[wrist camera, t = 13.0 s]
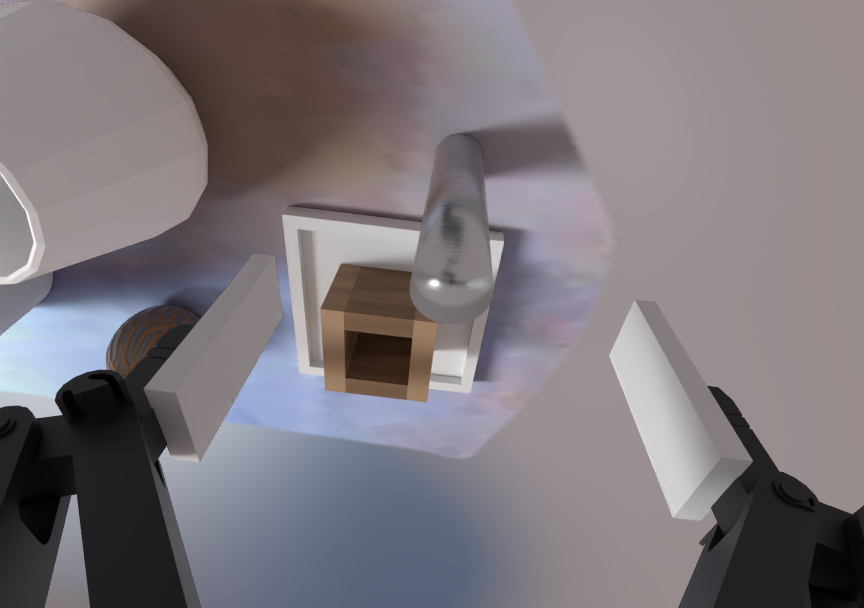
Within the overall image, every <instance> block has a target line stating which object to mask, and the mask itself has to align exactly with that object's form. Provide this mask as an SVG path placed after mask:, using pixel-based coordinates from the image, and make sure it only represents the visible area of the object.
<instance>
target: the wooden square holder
mask: <svg viewBox="0 0 864 608" xmlns="http://www.w3.org/2000/svg"><path fill="white" fill-rule="evenodd" d="M411 276H412V272H407V271H399V270H390V269H382V268H374V267H365V266H357V265H349V264H340V266H339V269H338V271H337V273H336V275H335V277H334V280H333V282H332V284H331V286H330V288H329V291H328V293H327V295H326V297H325V299H324V302H323V304H322V306H321V308H320V315H321V331H322V346H323V362H324V378H325V390H328V391H337V392H345V393H354V394H362V395H370V396H379V397H387V398H396V399H404V400H413V401H421V402H427V397H428V389H429V382H430V375H431V368H432V361H433V353H434V346H435V339H436V332H437V325H438V322H436V321H433V320H431V319H429V318H427V317H426V316H424V315H423V314H422V313H421V312H419V311H418V309H417V308H416V307H415V305H414V304H413V302H412V300H411V296H410V281H411Z"/></svg>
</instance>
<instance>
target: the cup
mask: <svg viewBox="0 0 864 608" xmlns="http://www.w3.org/2000/svg"><path fill="white" fill-rule="evenodd" d="M207 184H208V145H207V141H206V137H205V133H204V129H203V126H202V123H201V121H200V118H199V116H198V113H197V110H196V108H195V105H194V102H193V100H192V98H191V96H190V95H189V94H188V92H187V91H186V90H185V88H184V87H183V86H182V84H181V83H180V82H179V80H178V79H177V78H176V76H175V75H174V74H173V73H172V71H171V70H170V69H169V68H168V67H167V66H166V65H165V64H164V63H163V62H162V61H161V60H160V59H159V58H158V57H157V56H156V55H155V54H154V53H152V52H151V51H150V50H148V49H147V48H146V47H145V46H143V45H142V44H141V43H139V42H138V41H137V40H135V39H134V38H133V37H131V36H130V35H129V34H127V33H126V32H125V31H123V30H122V29H121V28H119V27H118V26H117V25H115V24H114V23H113V22H112V21H110V20H108V19H105V18H102V17H99V16H96V15H93V14H90V13H88V12H85V11H82V10H79V9H76V8H73V7H70V6H67V5H64V4H62V3H59V2H55V1H52V0H33V1H24V2H16V3H7V4H0V284H17V283H20V282H23V281H26V280H29V279H32V278H35V277H38V276H41V275H44V274H47V273H50V272H53V271H55V270H58V269H61V268H64V267H67V266H70V265H73V264H76V263H79V262H82V261H85V260H88V259H91V258H94V257H97V256H100V255H103V254H106V253H109V252H112V251H115V250H118V249H121V248H124V247H127V246H130V245H133V244H136V243H139V242H142V241H145V240H148V239H151V238H154V237H156V236H158V235H160V234H162V233H163V232H165V231H167V230H169V229H170V228H172V227H174V226H176V225H177V224H179V223H181V222H183V221H184V220H186V219H188V218H189V217H190V215H191V213H192V212H193V210H194V208H195V206H196V204H197V202H198V200H199V199H200V197H201V195H202V193H203V191H204V189H205V187H206V186H207Z"/></svg>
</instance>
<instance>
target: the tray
mask: <svg viewBox="0 0 864 608" xmlns="http://www.w3.org/2000/svg"><path fill="white" fill-rule="evenodd" d="M282 219H283V228H284V237H285V246H286V255H287V264H288V273H289V282H290V291H291V301H292V310H293V319H294V328H295V337H296V346H297V355H298V364H299V373H303V374H311V375H319V376H324V362H323V346H322V331H321V315H320V308H321V306H322V304H323V302H324V299H325V297H326V295H327V293H328V291H329V288H330V286H331V284H332V282H333V280H334V277H335V275H336V273H337V271H338V269H339V266H340V264H349V265H357V266H365V267H374V268H382V269H390V270H399V271H407V272H412V271H413V266H414V261H415V256H416V250H417V245H418V240H419V235H420V230H421V225H422V222H416V221H408V220H400V219H392V218H384V217H375V216H367V215H359V214H351V213H343V212H334V211H326V210H318V209H310V208H302V207H293V206H288V208H287V209H286V210H285V211H284V213H283V214H282ZM489 238H490V250H491V262H492V274H493V286H494V285H495V281H496V276H497V272H498V268H499V263H500V259H501V254H502V250H503V245H504V236H503V232H498V231H490V230H489ZM489 308H490V305H489V307H488V308H487V310H486V311H485V312H484V313H483V314H482V315H480V316H479V317H477V318H476V319H474V320H472V321H469V322H466V323H462V324H443V323H439V322H438V325H437V332H436V339H435V346H434V353H433V361H432V368H431V375H430V382H429V389H437V390H445V391H454V392H462V393H470V392H471V388H472V383H473V379H474V374H475V370H476V366H477V361H478V357H479V352H480V348H481V343H482V339H483V334H484V330H485V325H486V321H487V317H488V312H489Z"/></svg>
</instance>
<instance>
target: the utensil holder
mask: <svg viewBox="0 0 864 608" xmlns="http://www.w3.org/2000/svg"><path fill="white" fill-rule="evenodd" d="M52 283H53V272H50V273H47V274H44V275H41V276H38V277H35V278H32V279H29V280H26V281H23V282H20V283H17V284H0V335H1V334H3V333H4V332H5V331H6V330H7V329H9V328H10V327H11V326H12V325H13V324H14V323H16V322H17V321H18V320H19V319H21V318H22V317H23V316H24V315H25V314H27V313H28V312H29V311H30V310H32V309H33V308H34V307H35V306H36V305H37V304H39V303H40V302H41V301H42V300H43V299H44V298H45V297H46V296H47V295H48V293H49V292H50V289H51V287H52Z"/></svg>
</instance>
